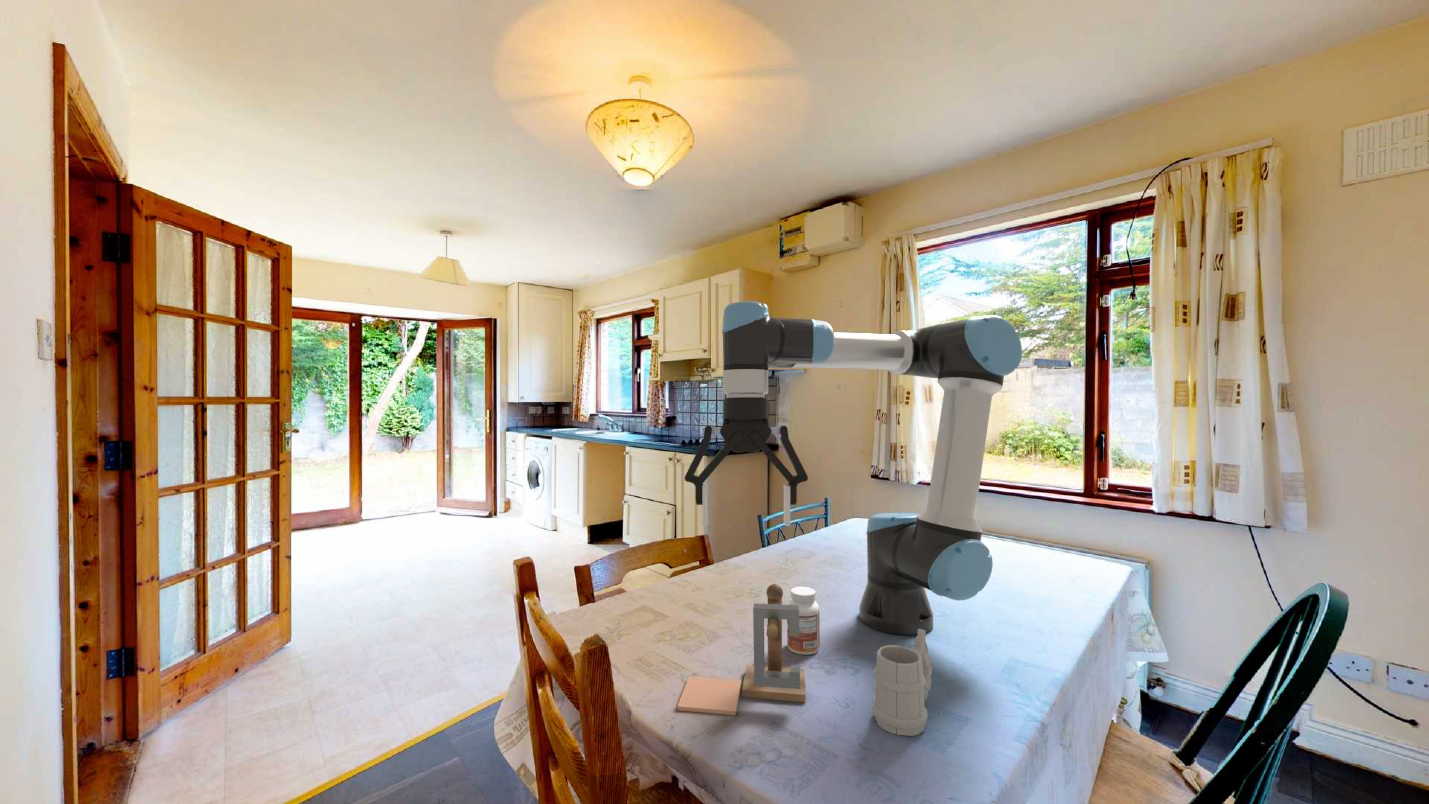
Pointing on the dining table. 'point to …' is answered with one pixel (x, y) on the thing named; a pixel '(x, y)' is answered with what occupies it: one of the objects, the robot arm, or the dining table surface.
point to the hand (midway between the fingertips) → (745, 524)
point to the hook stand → (773, 661)
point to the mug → (902, 687)
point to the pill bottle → (805, 622)
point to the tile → (710, 695)
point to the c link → (760, 675)
